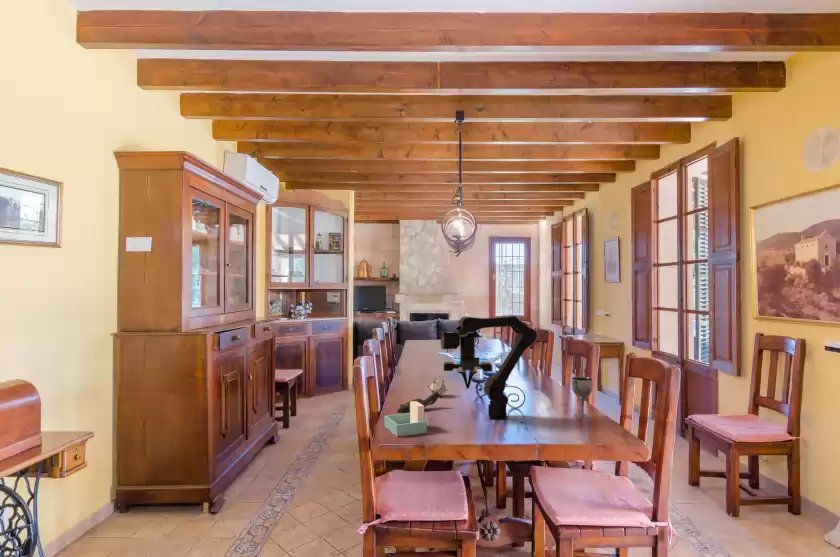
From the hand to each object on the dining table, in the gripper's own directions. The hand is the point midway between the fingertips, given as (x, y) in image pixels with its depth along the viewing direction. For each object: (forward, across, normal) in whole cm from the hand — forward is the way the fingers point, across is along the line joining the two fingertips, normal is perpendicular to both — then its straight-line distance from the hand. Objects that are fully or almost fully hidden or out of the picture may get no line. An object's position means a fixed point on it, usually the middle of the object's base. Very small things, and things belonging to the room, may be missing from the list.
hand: (467, 388), depth 188 cm
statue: (+12, -20, +13) cm, 27 cm away
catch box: (+12, -23, -15) cm, 30 cm away
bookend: (+12, -22, -14) cm, 29 cm away
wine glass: (+12, +46, +7) cm, 48 cm away
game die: (+12, -13, +37) cm, 41 cm away
